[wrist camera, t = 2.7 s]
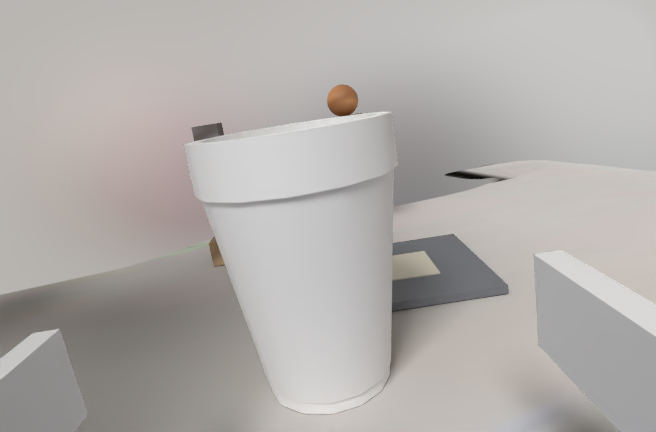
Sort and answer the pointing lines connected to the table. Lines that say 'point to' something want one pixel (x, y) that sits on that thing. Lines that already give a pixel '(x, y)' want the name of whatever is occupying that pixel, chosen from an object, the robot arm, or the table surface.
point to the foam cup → (308, 250)
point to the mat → (439, 273)
